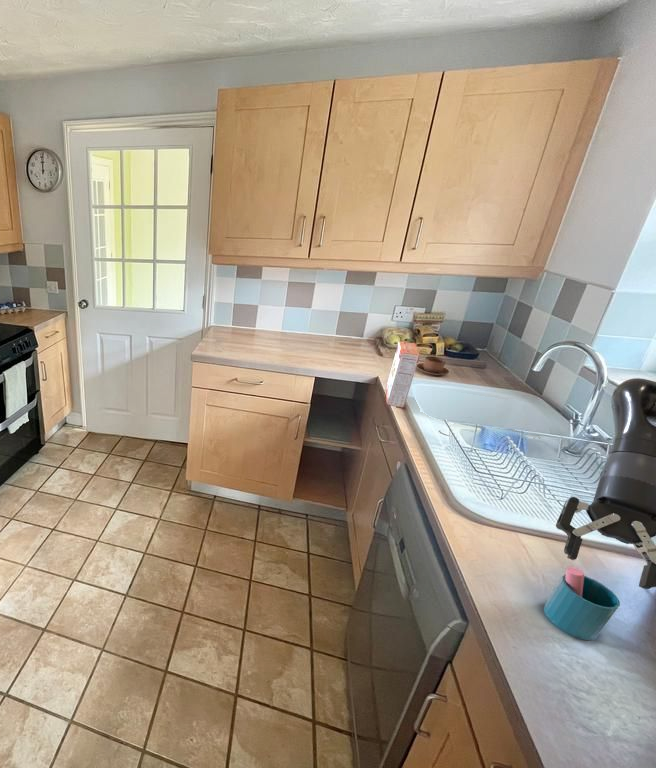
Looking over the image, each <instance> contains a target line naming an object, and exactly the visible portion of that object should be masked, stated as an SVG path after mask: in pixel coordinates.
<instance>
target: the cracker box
mask: <svg viewBox="0 0 656 768" xmlns="http://www.w3.org/2000/svg"><path fill="white" fill-rule="evenodd" d="M419 359H420V352H419V349H418V347H417V343H415V342H407V341H398V342H397V346H396V349H395V354H394V357H393V361H392V365H391V368H390V371H389V376H388V380H387V383H386V386H385V399H386V406H390V407H395V408H396V407H397V408H401V409H405V405H406V402H407V399H408V396H409V392H410V389H411V385H412V382H413V380H414V376H415V373H416V369H417V364H419Z"/></svg>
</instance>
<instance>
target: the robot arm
mask: <svg viewBox="0 0 656 768" xmlns="http://www.w3.org/2000/svg"><path fill="white" fill-rule="evenodd" d="M611 411H612V418H613V425H614V439H613V441H612V445H611V448H610V452H609V455H608V458H607V459H606V461H605V463H604V465H603V468H602V470H601V471H600V474H599V476H600V477H599V481H598V484H597V487H596V491H595V493H594V497H593V500H592V501H591V503H590V504H588V503H587V502H583V501H581V500H580V499H579V498H578V497H576V496H571V497H569V498H567V499H566V500H565V502H564V504H563V507H562V509H561V511H560V514H559V516H558V519H557V522H556V523H555V528H556V529H558V530H559V531H561V532H564V533H565V534H566V535H567V539H566V542H565V545H564V547H563V553H564V554H565V555H567V556H566V558H567V559H569V560H571V561H575V560H577V558H578V555H579V553H580V549H581V546H582V542H583V538H582V536H585V535H587V534H590V533H592V532H595V531H597V532H598V533H599V534H601V536H603V537H606V538H611V539H616V541H618V542H620V543H623V544H625V545H633V546H634V549H635V550H636V551H637V553H639V554H640V555H641V558H643V560H644V562H645V565H643V567H642V572H641V575H640V579H639V582H638V587H639V588H641V589H644V590H650V589H652V588H656V543H655V542H654V541H653V539H652V538H654V537H656V426H655V425H654V424H656V381H654V380H651V379H648V378H640V377H633V378H629V379H626V380H625V381H622V382H621V383H619V385H617V386H616V387H615V389H614V391H613V392H612V395H611ZM652 423H653V424H652ZM582 511H585V512H586V514H587V516H588V517H589V519H590V520H591V522H589V523H586V524H584V525H582V526H579V527H577V528H576V527H574V526H573V525H571V523H572V521H573V519H574V516H575V514H578V513H581V512H582Z"/></svg>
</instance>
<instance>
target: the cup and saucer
mask: <svg viewBox="0 0 656 768" xmlns="http://www.w3.org/2000/svg"><path fill="white" fill-rule="evenodd" d="M445 364H446V360H445V358H442V357H438V356H426V357H425V358H424V362H422V363H421V362H420V363H417V366H416V369H418V370H419V371H420V372H421V373H425V374H427V375H431V376H447V375H448V374H449V373H450V370H449V369H447V368H446V367H445Z"/></svg>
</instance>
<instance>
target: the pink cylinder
mask: <svg viewBox="0 0 656 768" xmlns="http://www.w3.org/2000/svg"><path fill="white" fill-rule="evenodd" d="M565 574H566V577H565V582H566V584H567V585H568V586H569V588H570V589H571V590H572V591H574V592H575V593H576V594H577V595H579V596H580V597H582V592H583V582H584V576H585V572H584V571H583V570H582V569H580V568H578V567H573V566H568V567H566V570H565Z"/></svg>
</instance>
